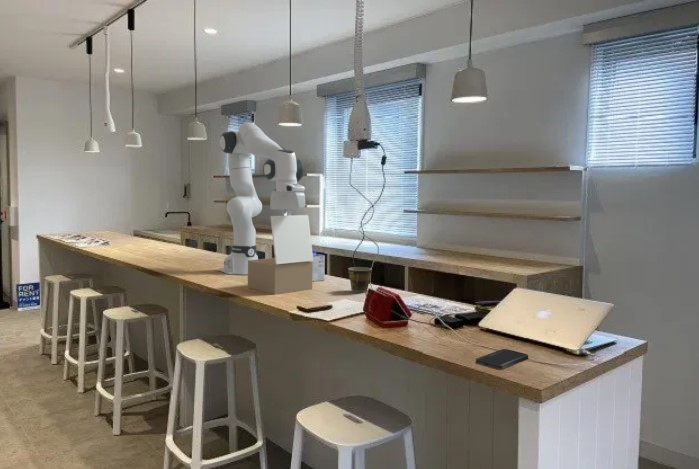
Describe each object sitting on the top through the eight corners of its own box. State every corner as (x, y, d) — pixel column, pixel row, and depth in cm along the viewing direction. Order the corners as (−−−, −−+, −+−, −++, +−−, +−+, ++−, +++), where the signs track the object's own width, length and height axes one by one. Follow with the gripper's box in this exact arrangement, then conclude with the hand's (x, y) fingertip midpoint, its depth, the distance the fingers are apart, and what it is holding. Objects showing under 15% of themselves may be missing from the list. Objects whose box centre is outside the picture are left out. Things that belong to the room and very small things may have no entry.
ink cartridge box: (319, 278, 265) (319, 249, 264) (325, 280, 260) (325, 250, 259) (301, 280, 259) (302, 250, 258) (307, 282, 255) (308, 251, 253)
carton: (247, 287, 238) (247, 260, 237) (284, 282, 251) (284, 257, 250) (274, 294, 223) (275, 265, 222) (312, 289, 237) (312, 261, 236)
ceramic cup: (356, 288, 241) (356, 266, 240) (375, 291, 235) (376, 268, 234) (339, 292, 230) (339, 269, 229) (358, 296, 224) (359, 272, 223)
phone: (530, 355, 146) (500, 366, 136) (529, 359, 146) (500, 370, 136) (503, 348, 152) (473, 359, 141) (503, 352, 152) (473, 363, 141)
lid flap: (270, 216, 224) (271, 215, 223) (307, 215, 237) (308, 215, 237) (275, 264, 222) (276, 264, 222) (312, 260, 236) (313, 260, 235)
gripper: (266, 188, 236) (266, 220, 237) (295, 187, 221) (296, 221, 222) (278, 188, 240) (278, 219, 241) (307, 187, 225) (308, 220, 226)
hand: (287, 220), depth 231 cm, fingers closed
